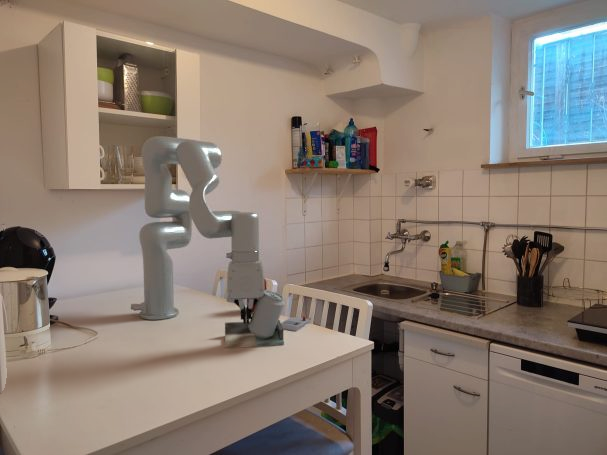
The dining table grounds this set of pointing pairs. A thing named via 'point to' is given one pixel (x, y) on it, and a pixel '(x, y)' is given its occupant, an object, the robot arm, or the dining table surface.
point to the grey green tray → (250, 336)
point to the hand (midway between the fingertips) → (246, 321)
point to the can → (266, 314)
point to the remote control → (294, 323)
